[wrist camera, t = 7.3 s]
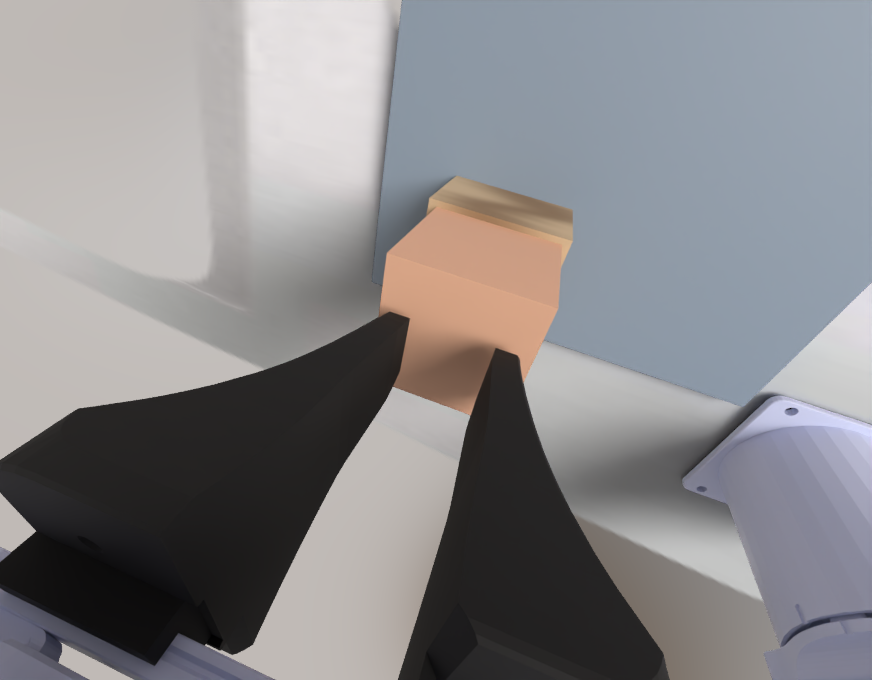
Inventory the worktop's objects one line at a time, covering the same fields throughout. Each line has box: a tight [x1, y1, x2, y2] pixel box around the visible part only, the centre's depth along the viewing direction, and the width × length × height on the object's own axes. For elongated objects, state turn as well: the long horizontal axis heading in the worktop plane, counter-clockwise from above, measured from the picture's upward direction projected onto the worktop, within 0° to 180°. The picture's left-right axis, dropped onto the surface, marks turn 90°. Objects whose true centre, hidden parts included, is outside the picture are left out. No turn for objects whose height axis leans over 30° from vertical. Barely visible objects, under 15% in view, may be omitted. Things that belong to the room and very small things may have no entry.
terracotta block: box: [379, 207, 562, 415], centre depth 13 cm, size 5×5×5 cm
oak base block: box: [426, 176, 573, 267], centre depth 16 cm, size 5×5×4 cm
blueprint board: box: [372, 0, 872, 407], centre depth 15 cm, size 20×16×1 cm
